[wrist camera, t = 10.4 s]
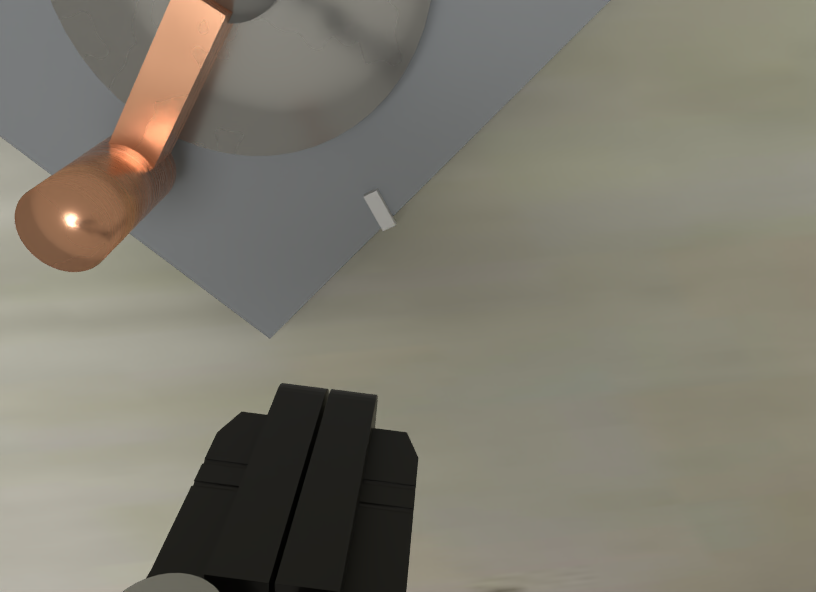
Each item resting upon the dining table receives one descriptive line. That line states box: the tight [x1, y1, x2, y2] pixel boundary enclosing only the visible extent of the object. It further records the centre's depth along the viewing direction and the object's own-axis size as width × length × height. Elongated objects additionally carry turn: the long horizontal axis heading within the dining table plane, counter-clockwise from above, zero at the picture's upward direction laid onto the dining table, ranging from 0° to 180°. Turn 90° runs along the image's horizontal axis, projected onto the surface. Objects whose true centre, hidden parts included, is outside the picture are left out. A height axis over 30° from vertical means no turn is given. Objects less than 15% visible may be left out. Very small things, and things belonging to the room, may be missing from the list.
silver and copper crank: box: [15, 0, 431, 272], centre depth 18 cm, size 14×11×6 cm
